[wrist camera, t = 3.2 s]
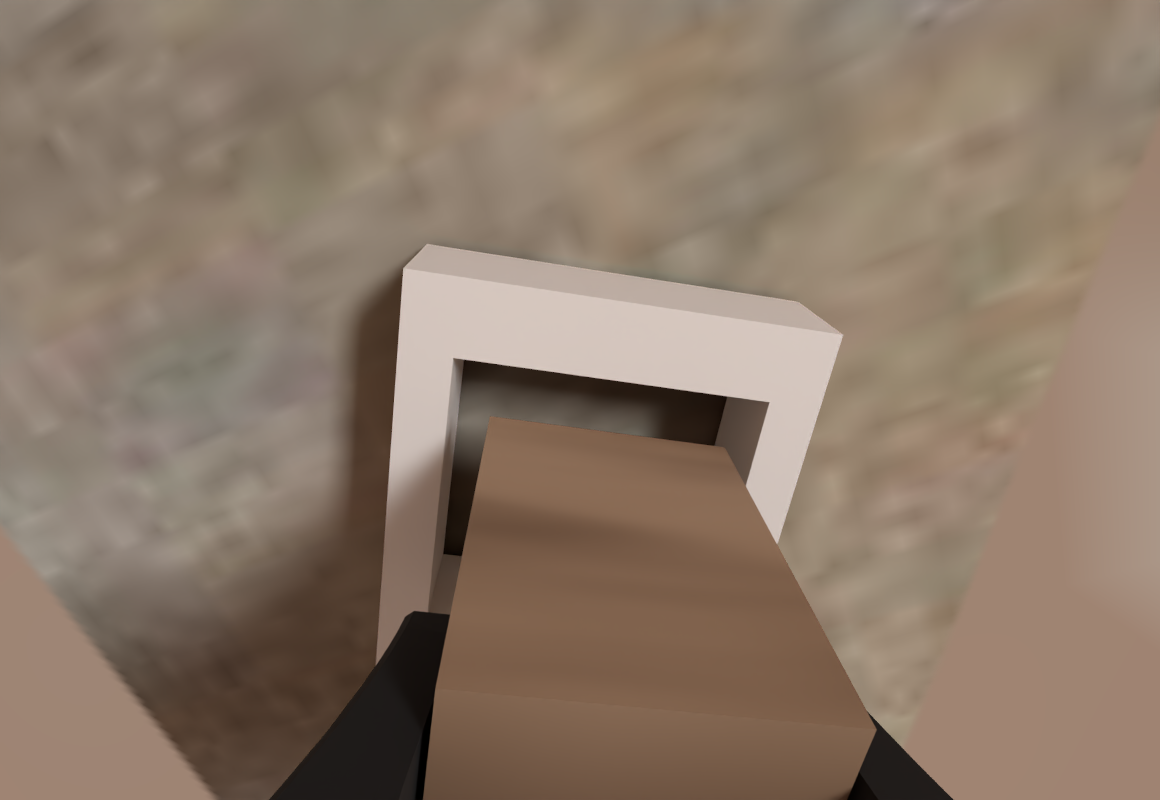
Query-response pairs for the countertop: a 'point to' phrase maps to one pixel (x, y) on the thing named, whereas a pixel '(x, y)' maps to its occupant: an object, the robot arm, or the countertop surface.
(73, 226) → the countertop surface
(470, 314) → the socket block
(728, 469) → the plug
